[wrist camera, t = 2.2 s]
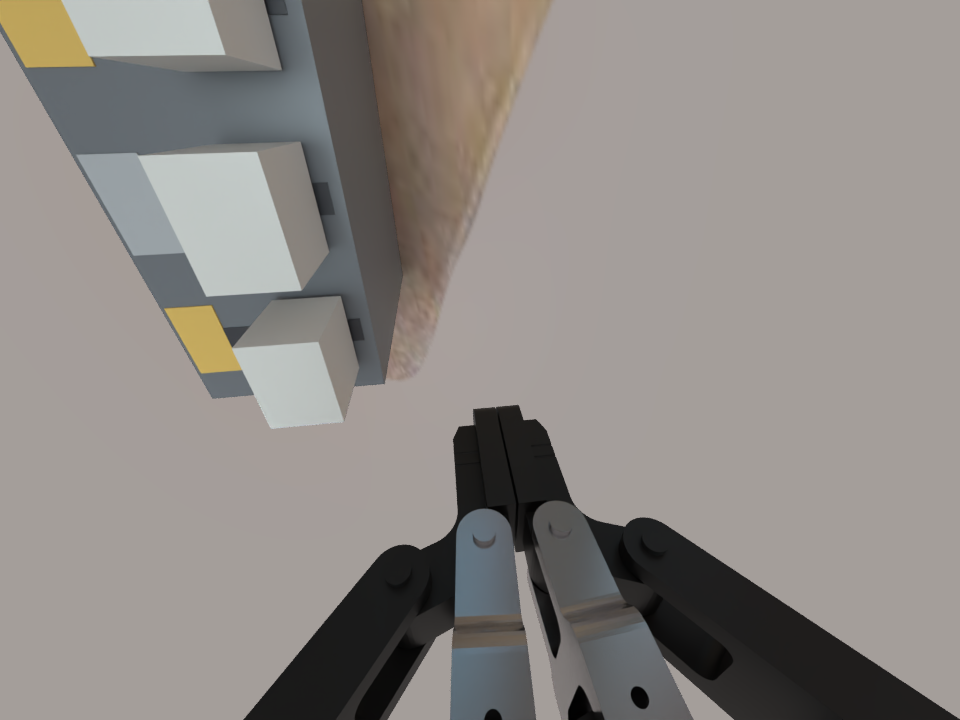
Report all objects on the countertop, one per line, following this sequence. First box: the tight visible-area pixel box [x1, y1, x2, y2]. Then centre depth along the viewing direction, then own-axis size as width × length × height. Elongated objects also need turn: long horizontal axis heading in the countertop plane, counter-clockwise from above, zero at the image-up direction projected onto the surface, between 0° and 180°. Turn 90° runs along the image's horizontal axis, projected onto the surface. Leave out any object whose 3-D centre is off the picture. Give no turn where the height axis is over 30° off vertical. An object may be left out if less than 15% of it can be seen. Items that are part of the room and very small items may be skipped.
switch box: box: [0, 0, 403, 398], centre depth 21 cm, size 9×19×16 cm, turn 1°
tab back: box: [232, 296, 359, 429], centre depth 16 cm, size 3×4×4 cm
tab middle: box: [138, 142, 329, 297], centre depth 12 cm, size 3×4×4 cm
